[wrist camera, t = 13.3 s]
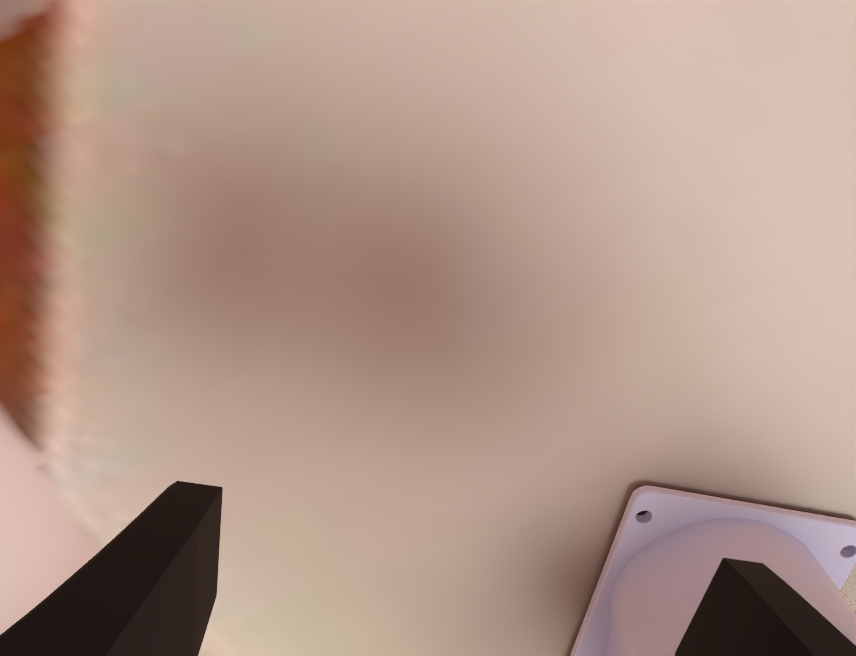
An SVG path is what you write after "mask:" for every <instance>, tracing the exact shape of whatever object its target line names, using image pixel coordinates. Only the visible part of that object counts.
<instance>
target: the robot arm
mask: <svg viewBox="0 0 856 656" xmlns="http://www.w3.org/2000/svg"><path fill="white" fill-rule="evenodd" d="M222 488H223V487H217V486H210V485H203V484H195V483H188V482H181V481H177V482H175V483H174V484H172V485H170V486H169V487H168V488H167V489H166V490H165V491H164V492H163V493H162V494H161V495H160V496H158V497H157V498H156V499H155V500H154V501H153V502H152V503H151V504H150V505H149V506H148V507H147V508H146V509H145V510H144V511H143V512H142V513H141V514H140V515H139V516H138V517H137V518H135V519H134V520H133V521H132V522H131V523H130V524H129V525H128V526H127V527H126V528H125V529H124V530H123V531H122V532H120V533H119V534H118V535H117V536H116V537H115V538H114V539H113V540H112V541H111V542H109V543H108V544H107V545H106V546H105V547H104V548H103V549H102V550H101V551H100V552H99V553H97V554H96V555H95V556H94V557H93V558H92V559H91V560H89V561H88V562H87V563H86V564H85V565H84V566H83V567H81V568H80V569H79V570H78V571H77V572H76V573H74V574H73V575H72V576H71V577H70V578H69V579H68V580H66V581H65V582H64V583H63V584H62V585H61V586H60V587H58V588H57V589H56V590H55V591H54V592H53V593H51V594H50V595H49V596H48V597H47V598H46V599H44V600H43V601H42V602H41V603H40V604H38V605H37V606H36V607H35V608H34V609H33V610H31V611H30V612H29V613H28V614H26V615H25V616H24V617H23V618H21V619H20V620H19V621H17V622H16V623H15V624H14V625H12V626H11V627H10V628H9V629H7V630H6V631H5V632H4V633H2V634H1V635H0V656H198V654H199V650H200V647H201V644H202V641H203V638H204V635H205V631H206V628H207V625H208V622H209V618H210V615H211V612H212V608H213V605H214V602H215V599H216V595H217V577H218V560H219V542H220V524H221V506H222ZM645 510H647V513H646V514H644V515H637V514H638V512H640V511H645ZM846 546H847V547H846ZM843 547H846V548H844V549H843ZM855 564H856V521H854V520H848V519H842V518H836V517H830V516H824V515H819V514H813V513H807V512H801V511H795V510H789V509H784V508H778V507H772V506H766V505H760V504H755V503H749V502H743V501H737V500H731V499H725V498H720V497H714V496H708V495H702V494H696V493H690V492H685V491H679V490H673V489H667V488H661V487H655V486H642V487H639V488H637V489H636V490H634V491H633V493H632V495H631V497H630V499H629V502H628V504H627V507H626V510H625V512H624V515H623V518H622V520H621V523H620V525H619V528H618V531H617V533H616V536H615V539H614V541H613V544H612V546H611V549H610V552H609V554H608V557H607V560H606V562H605V565H604V568H603V570H602V573H601V575H600V578H599V581H598V583H597V586H596V589H595V591H594V594H593V596H592V599H591V602H590V604H589V607H588V610H587V612H586V615H585V617H584V620H583V623H582V625H581V628H580V631H579V633H578V636H577V639H576V641H575V644H574V646H573V649H572V652H571V654H570V656H856V612H855V611H854V609H853V608H852V606H851V605H850V604H849V602H848V601H847V600H846V598H845V597H844V596H843V594H842V593H841V592H840V590H841V588H842V587H843V585H844V583H845V581H846V580H847V578H848V576H849V575H850V573H851V571H852V569H853V568H854V566H855Z"/></svg>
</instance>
